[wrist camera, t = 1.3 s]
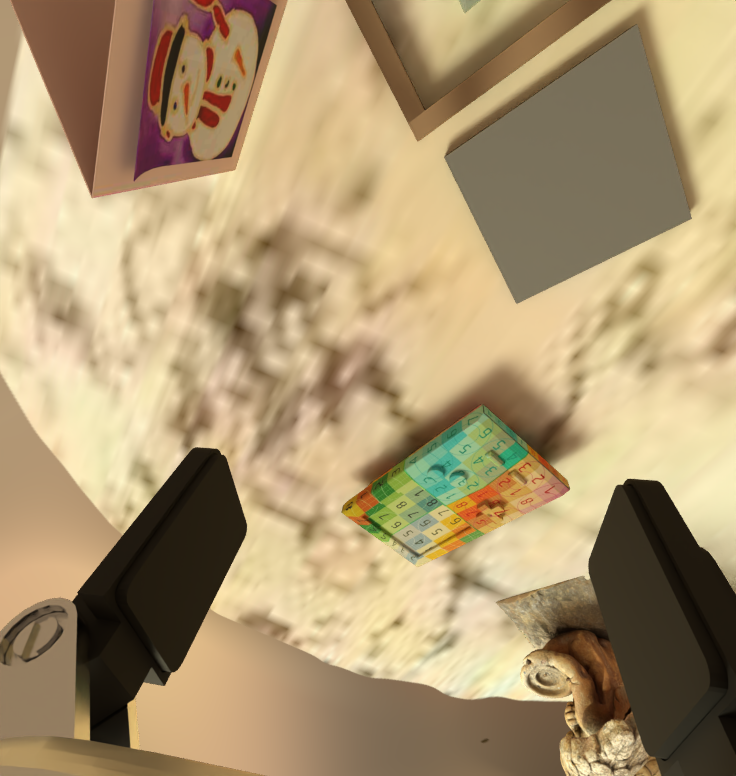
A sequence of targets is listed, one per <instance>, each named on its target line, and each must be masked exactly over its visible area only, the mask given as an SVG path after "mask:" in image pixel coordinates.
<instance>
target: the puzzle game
mask: <svg viewBox="0 0 736 776" xmlns="http://www.w3.org/2000/svg"><path fill="white" fill-rule="evenodd" d="M569 490H570V487H569V484H568V481H567V479H566V478H564V477H563V476H562V475H561V474H560V473H559V472H558V471H557V470H556V469H554V468H553V467H552V466H551V465H550V464H549V463H548V462H547V461H546V460H544V459H543V458H542V457H541V456H540V455H539V454H538V453H537V452H536V451H534V450H533V449H532V448H531V447H530V446H529V445H528V444H527V443H526V442H524V441H523V440H522V439H521V438H520V437H519V436H518V435H517V434H515V433H514V432H513V431H512V430H511V429H510V428H509V427H508V426H507V425H505V424H504V423H503V422H502V421H501V420H500V419H499V418H498V417H497V416H495V415H494V414H493V413H492V412H491V411H490V410H489V409H488V408H487V407H485V406H484V405H479V406H478V407H477V408H475V409H474V410H472V411H471V412H470V413H468V414H467V415H465V416H464V417H463V418H461V419H460V420H458V421H457V422H456V423H454V424H453V425H451V426H450V427H449V428H447V429H446V430H444V431H443V432H442V433H440V434H439V435H437V436H436V437H435V438H433V439H432V440H430V441H429V442H428V443H426V444H425V445H424V446H422V447H421V448H419V449H418V450H417V451H415V452H414V453H412V454H411V455H410V456H408V457H407V458H405V459H404V460H403V461H401V462H400V463H398V464H397V465H396V466H394V467H393V468H391V469H390V470H389V471H387V472H386V473H384V474H383V475H382V476H380V477H379V478H377V479H376V480H375V481H373V482H372V483H370V484H369V486H368V487H367V488H365V489H364V490H363V491H361V492H360V493H358V494H357V495H356V496H354V497H353V498H351V499H350V500H348V501H347V502H346V503H345V504H344V505H343V509H342V513H343V514H344V515H346V516H347V517H348V518H350V519H351V520H353V521H354V522H355V523H357V524H358V525H360V526H361V527H362V528H364V529H365V530H367V531H368V532H369V533H371V534H372V535H374V536H375V537H376V538H378V539H379V540H381V541H382V542H383V543H385V544H386V545H388V546H389V547H390V548H392V549H393V550H394V551H396V552H397V553H399V554H400V555H401V556H403V557H404V558H406V559H407V560H408V561H410V562H411V563H413V564H414V565H415V566H417V567H419V566H421V565H423V564H425V563H427V562H429V561H431V560H433V559H435V558H437V557H440V556H442V555H444V554H446V553H448V552H450V551H452V550H454V549H456V548H458V547H460V546H462V545H464V544H466V543H468V542H470V541H472V540H474V539H476V538H478V537H480V536H482V535H484V534H486V533H488V532H490V531H492V530H494V529H496V528H498V527H500V526H502V525H504V524H506V523H508V522H510V521H512V520H514V519H516V518H518V517H520V516H522V515H524V514H526V513H528V512H530V511H532V510H534V509H536V508H538V507H540V506H542V505H544V504H546V503H548V502H550V501H552V500H554V499H556V498H558V497H560V496H563V495H564V494H565V493H566V492H567V491H569Z"/></svg>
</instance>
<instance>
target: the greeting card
mask: <svg viewBox="0 0 736 776" xmlns="http://www.w3.org/2000/svg"><path fill="white" fill-rule="evenodd" d="M10 2H11V4H12V6H13V9H14V12H15V14H16V17H17V19H18V21H19V24H20V26H21V29H22V31H23V33H24V36H25V38H26V41H27V43H28V45H29V48H30V50H31V53H32V55H33V58H34V60H35V62H36V65H37V67H38V70H39V72H40V74H41V77H42V79H43V82H44V84H45V87H46V89H47V91H48V94H49V96H50V99H51V101H52V103H53V106H54V108H55V111H56V113H57V115H58V118H59V120H60V123H61V125H62V128H63V130H64V132H65V135H66V137H67V140H68V142H69V144H70V147H71V149H72V152H73V154H74V156H75V159H76V161H77V164H78V166H79V169H80V171H81V173H82V176H83V178H84V181H85V183H86V185H87V188H88V190H89V193H90V195H91V198H95V197H100V196H106V195H111V194H116V193H121V192H126V191H131V190H136V189H141V188H146V187H151V186H157V185H162V184H167V183H172V182H177V181H182V180H187V179H192V178H197V177H202V176H207V175H213V174H218V173H223V172H228V171H233V170H235V169H236V166H237V163H238V159H239V156H240V153H241V150H242V146H243V143H244V140H245V137H246V133H247V130H248V127H249V124H250V120H251V117H252V114H253V111H254V107H255V104H256V101H257V98H258V94H259V91H260V88H261V85H262V81H263V78H264V75H265V72H266V68H267V65H268V62H269V59H270V55H271V52H272V49H273V46H274V42H275V39H276V36H277V33H278V29H279V26H280V23H281V20H282V16H283V13H284V10H285V7H286V3H287V0H10Z"/></svg>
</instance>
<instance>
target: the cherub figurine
mask: <svg viewBox="0 0 736 776" xmlns="http://www.w3.org/2000/svg"><path fill="white" fill-rule="evenodd" d="M496 603H497V604H498V605H499V606H500V607H501V608H502V609H503V610H504V611H505V613H506V614H507V615H508V616H509V617H510V618H511V620H512V621H513V622H514V623H515V624H516V626H517V628H518V629H519V630H520V631H521V632H523V633H524V635H525V636H526V637H525V638H527V640H528V641H529V643H531V644H532V645H533V647H534V648H536V649H537V650H535V651H533V652H531V653H530V654H529V655H527V656H526V657H525V658H524V662H523V664H524V666H523V667H522V670H521V673H520V676H521V682H522V684H523V686H524V687H525V688H526V689H528V690H529V691H530V692H532V693H534V694H536V695H538V696H541V697H545V698H561V697H566V696H569V695H570V694H573V702H568V703H567V707H566V710H565V719H566V722H567V724H568V726H569V727H570V728H571V729H572V730H571V731H569V732H568V733H567V734H566V737H564V738H563V739H562V740H561V741H560V752H561V753H560V758H561V763H562V766H563V768H564V771H565V773H566V775H567V776H661V773H660V770H659V767H658V764H657V761H656V758H655V757H651V756H649V755H648V754H647V752H646V751H645V749H644V747H643V744H642V742H641V739H640V735H639V732H638V729H637V726H636V723H635V719H634V716H633V713H632V710H631V707H630V703H629V700H628V697H627V694H626V691H625V687H624V684H623V681H622V678H621V675H620V671H619V668H618V665H617V662H616V659H615V655H614V652H613V649H612V646H611V643H610V639H609V636H608V633H607V630H606V627H605V623H604V620H603V617H602V614H601V611H600V607H599V604H598V601H597V598H596V595H595V591H594V588H593V585H592V582H591V579H589V580H586V579H584V576H581V577H577V578H574V579H571V580H567V581H564V582H561V583H557V584H554V585H551V586H547V587H544V588H541V589H537V590H534V591H531V592H527V593H524V594H521V595H517V596H514V597H511V598H508V599H504V600H501V601H498V602H496Z"/></svg>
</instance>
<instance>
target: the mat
mask: <svg viewBox="0 0 736 776" xmlns="http://www.w3.org/2000/svg"><path fill="white" fill-rule="evenodd" d="M444 158H445V160H446V162H447V164H448V166H449V168H450V170H451V172H452V174H453V176H454V178H455V180H456V182H457V184H458V186H459V188H460V190H461V192H462V194H463V196H464V198H465V200H466V203H467V205H468V207H469V209H470V211H471V213H472V215H473V217H474V219H475V221H476V223H477V225H478V227H479V229H480V231H481V233H482V235H483V237H484V239H485V241H486V243H487V245H488V247H489V249H490V251H491V253H492V255H493V257H494V259H495V261H496V263H497V265H498V267H499V269H500V271H501V273H502V275H503V277H504V279H505V281H506V284H507V286H508V288H509V290H510V292H511V294H512V296H513V298H514V300H515V302H516V304H517V303H519V302H521V301H523V300H526V299H528V298H530V297H532V296H534V295H536V294H538V293H540V292H542V291H544V290H546V289H548V288H550V287H552V286H554V285H556V284H558V283H560V282H563V281H565V280H567V279H569V278H571V277H573V276H575V275H577V274H579V273H581V272H583V271H585V270H587V269H589V268H591V267H593V266H595V265H597V264H600V263H602V262H604V261H606V260H608V259H610V258H612V257H614V256H616V255H618V254H620V253H622V252H624V251H626V250H628V249H630V248H632V247H634V246H637V245H639V244H641V243H643V242H645V241H647V240H649V239H651V238H653V237H655V236H657V235H659V234H661V233H663V232H665V231H667V230H669V229H671V228H674V227H676V226H678V225H680V224H682V223H684V222H686V221H688V220H690V219H692V218H691V214H690V211H689V207H688V203H687V200H686V196H685V193H684V189H683V186H682V182H681V178H680V175H679V171H678V168H677V164H676V161H675V157H674V153H673V150H672V146H671V143H670V139H669V135H668V132H667V128H666V125H665V121H664V118H663V114H662V110H661V107H660V103H659V100H658V96H657V93H656V89H655V85H654V82H653V78H652V75H651V71H650V68H649V64H648V60H647V57H646V53H645V50H644V46H643V43H642V39H641V35H640V32H639V28H638V25H637V24H636V25H635V26H633V27H631V28H630V29H628V30H627V31H626V32H624V33H623V34H621V35H620V36H618V37H617V38H615V39H614V40H613V41H611V42H610V43H608V44H607V45H605V46H604V47H602V48H601V49H600V50H598V51H597V52H595V53H594V54H592V55H591V56H589V57H588V58H587V59H585V60H584V61H582V62H581V63H579V64H578V65H576V66H575V67H574V68H572V69H571V70H569V71H568V72H566V73H565V74H563V75H562V76H561V77H559V78H558V79H556V80H555V81H553V82H552V83H550V84H549V85H548V86H546V87H545V88H543V89H542V90H540V91H539V92H537V93H536V94H535V95H533V96H532V97H530V98H529V99H527V100H526V101H524V102H523V103H522V104H520V105H519V106H517V107H516V108H514V109H513V110H511V111H510V112H509V113H507V114H506V115H504V116H503V117H501V118H500V119H498V120H497V121H495V122H494V123H493V124H491V125H490V126H488V127H487V128H485V129H484V130H482V131H481V132H480V133H478V134H477V135H475V136H474V137H472V138H471V139H469V140H468V141H467V142H465V143H464V144H462V145H461V146H459V147H458V148H456V149H455V150H454V151H452V152H451V153H449V154H448V155H446V156H445V157H444Z"/></svg>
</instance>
